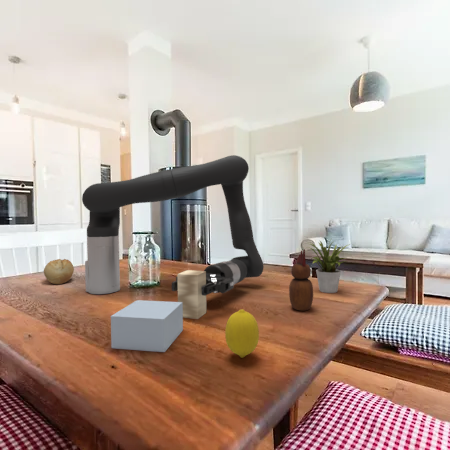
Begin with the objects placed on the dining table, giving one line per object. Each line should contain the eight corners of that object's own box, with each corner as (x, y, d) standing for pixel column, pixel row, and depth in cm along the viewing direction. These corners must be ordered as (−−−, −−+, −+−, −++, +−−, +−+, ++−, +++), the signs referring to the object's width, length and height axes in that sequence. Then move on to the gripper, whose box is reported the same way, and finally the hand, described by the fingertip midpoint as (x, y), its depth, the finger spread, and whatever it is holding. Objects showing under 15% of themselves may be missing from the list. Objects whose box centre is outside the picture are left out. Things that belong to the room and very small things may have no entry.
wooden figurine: (314, 313, 71) (314, 250, 70) (289, 312, 72) (289, 249, 72) (311, 305, 78) (312, 247, 77) (289, 304, 79) (289, 246, 78)
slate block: (111, 349, 54) (110, 316, 54) (137, 328, 64) (137, 300, 63) (164, 353, 52) (163, 319, 52) (182, 331, 62) (182, 302, 62)
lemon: (224, 350, 52) (223, 305, 52) (255, 349, 53) (255, 303, 52) (227, 366, 47) (226, 315, 46) (262, 364, 47) (261, 314, 47)
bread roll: (71, 276, 118) (70, 256, 118) (77, 283, 106) (76, 260, 106) (42, 279, 113) (41, 258, 113) (45, 287, 101) (44, 263, 100)
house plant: (291, 290, 92) (291, 237, 91) (312, 283, 102) (312, 234, 101) (337, 299, 82) (337, 240, 82) (355, 289, 92) (356, 236, 92)
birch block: (178, 316, 70) (177, 274, 69) (187, 310, 74) (187, 270, 74) (197, 319, 68) (197, 275, 68) (206, 312, 73) (205, 271, 72)
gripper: (200, 260, 87) (163, 270, 73) (245, 264, 80) (213, 275, 66) (200, 286, 87) (163, 301, 73) (245, 292, 80) (214, 309, 66)
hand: (187, 288), depth 69 cm, fingers open, 8 cm apart
